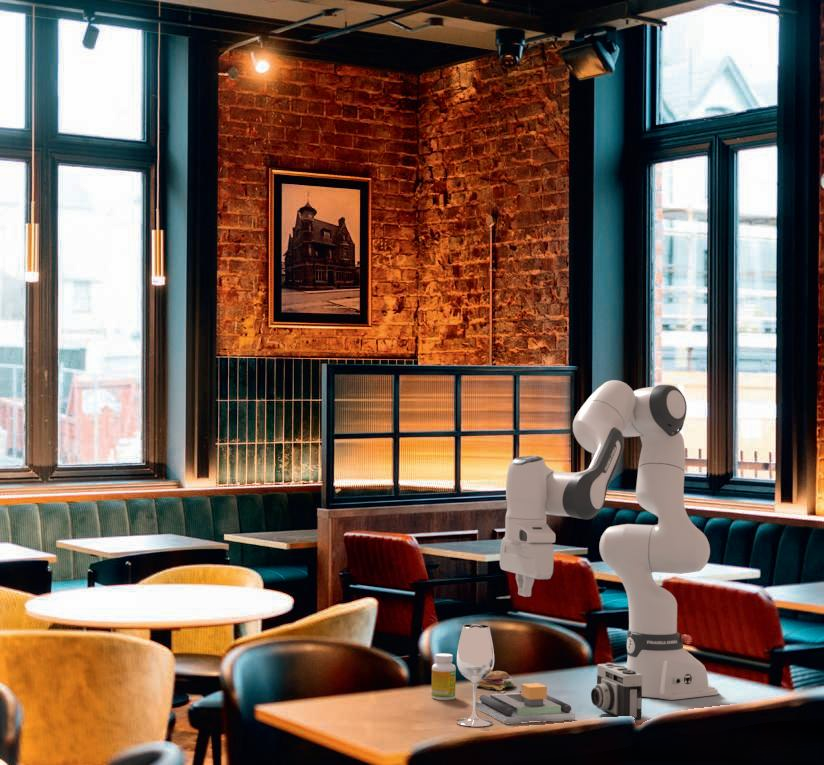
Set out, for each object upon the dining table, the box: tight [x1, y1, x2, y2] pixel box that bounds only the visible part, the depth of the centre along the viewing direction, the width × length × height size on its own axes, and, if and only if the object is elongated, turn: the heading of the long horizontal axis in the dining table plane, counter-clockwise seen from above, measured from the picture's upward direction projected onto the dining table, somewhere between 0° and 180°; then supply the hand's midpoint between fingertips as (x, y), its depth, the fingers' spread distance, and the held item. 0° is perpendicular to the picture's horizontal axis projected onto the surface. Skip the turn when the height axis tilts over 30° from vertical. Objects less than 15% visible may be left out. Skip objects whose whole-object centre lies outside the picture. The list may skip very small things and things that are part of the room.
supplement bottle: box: [430, 653, 457, 701], centre depth 298 cm, size 5×5×10 cm
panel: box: [476, 692, 576, 724], centre depth 283 cm, size 16×16×3 cm
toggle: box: [520, 682, 548, 707], centre depth 279 cm, size 4×4×5 cm
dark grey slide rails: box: [479, 694, 572, 716], centre depth 283 cm, size 15×16×2 cm
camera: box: [590, 662, 643, 721], centre depth 285 cm, size 14×8×10 cm, turn 18°
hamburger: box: [477, 670, 516, 691], centre depth 310 cm, size 14×14×6 cm
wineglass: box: [455, 623, 495, 728], centre depth 274 cm, size 8×8×20 cm
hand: (524, 595), depth 285 cm, fingers closed
